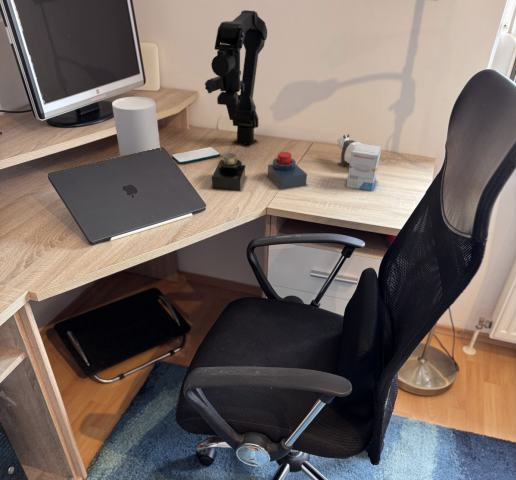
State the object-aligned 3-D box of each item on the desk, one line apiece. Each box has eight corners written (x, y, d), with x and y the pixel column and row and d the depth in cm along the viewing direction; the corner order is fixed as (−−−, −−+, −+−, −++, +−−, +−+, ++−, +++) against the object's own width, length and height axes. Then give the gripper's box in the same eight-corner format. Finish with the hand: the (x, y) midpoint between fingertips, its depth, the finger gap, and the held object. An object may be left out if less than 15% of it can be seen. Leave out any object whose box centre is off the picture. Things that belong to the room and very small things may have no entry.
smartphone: (180, 165, 173) (221, 156, 179) (179, 162, 172) (221, 154, 178) (171, 157, 178) (211, 149, 184) (170, 154, 177) (211, 146, 183)
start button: (275, 160, 164) (275, 152, 163) (287, 159, 166) (288, 151, 164) (281, 166, 161) (281, 157, 160) (293, 164, 163) (293, 155, 161)
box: (266, 175, 168) (267, 159, 164) (290, 171, 171) (291, 155, 167) (281, 189, 160) (282, 172, 157) (306, 185, 163) (307, 168, 159)
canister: (167, 168, 170) (161, 106, 157) (130, 175, 165) (120, 112, 152) (152, 154, 179) (146, 94, 165) (116, 161, 173) (106, 99, 160)
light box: (219, 174, 168) (218, 157, 164) (245, 176, 167) (245, 159, 164) (212, 188, 159) (211, 171, 156) (240, 191, 159) (240, 174, 155)
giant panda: (367, 171, 173) (372, 143, 167) (354, 174, 171) (359, 146, 164) (342, 156, 182) (346, 129, 176) (329, 159, 180) (333, 132, 174)
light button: (224, 160, 163) (224, 152, 161) (238, 161, 163) (238, 153, 161) (222, 166, 160) (222, 157, 158) (235, 167, 160) (235, 158, 158)
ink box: (375, 181, 167) (382, 146, 159) (371, 191, 161) (378, 155, 153) (350, 177, 169) (356, 142, 161) (345, 186, 163) (351, 151, 155)
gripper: (212, 60, 167) (213, 109, 178) (200, 74, 154) (202, 127, 164) (244, 62, 167) (244, 111, 177) (236, 76, 153) (236, 129, 163)
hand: (231, 119), depth 170 cm, fingers closed
